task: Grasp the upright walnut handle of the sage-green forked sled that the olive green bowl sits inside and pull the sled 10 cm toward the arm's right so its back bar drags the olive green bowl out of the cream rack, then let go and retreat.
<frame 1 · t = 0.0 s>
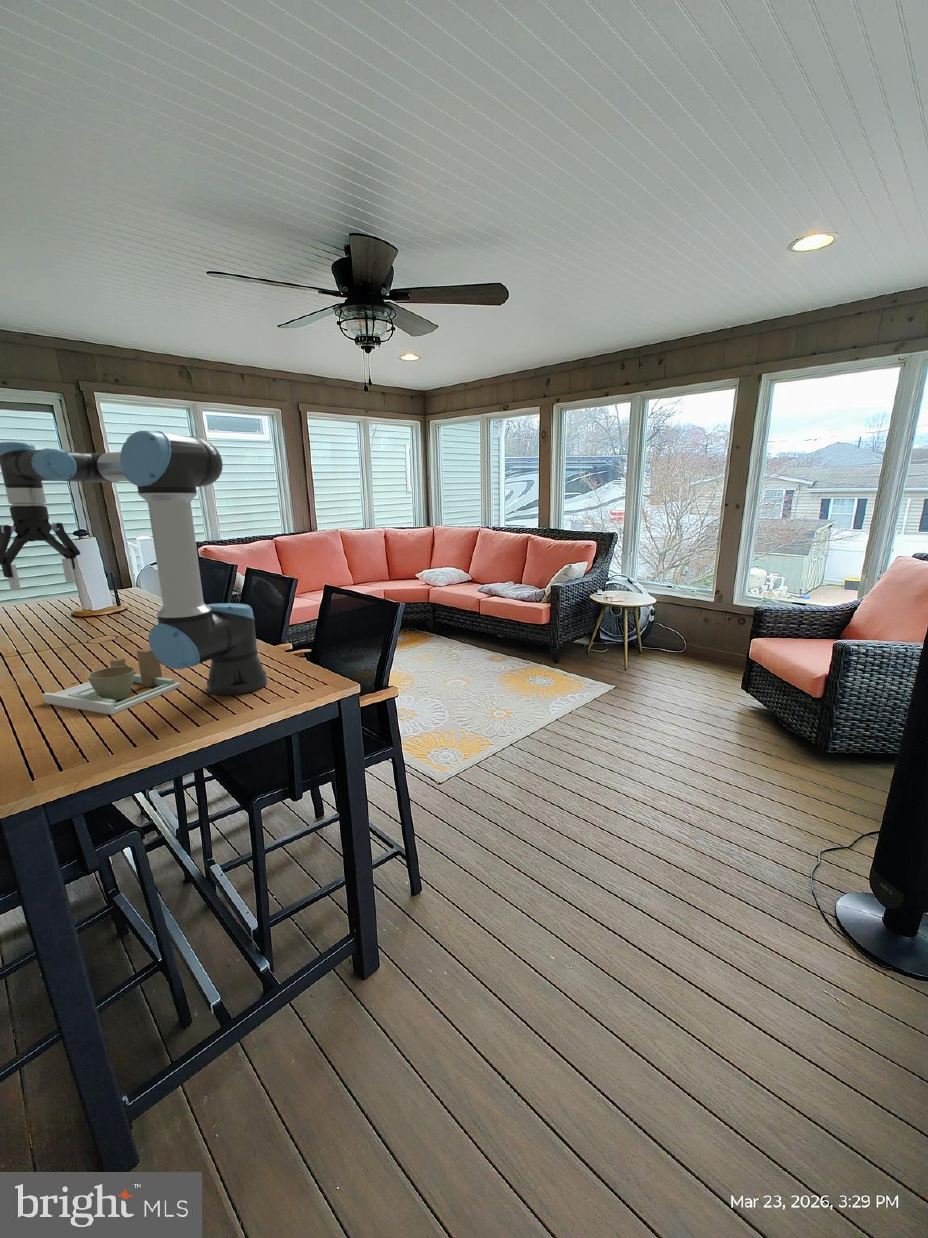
hand: (44, 585, 137), 28 cm above the table, fingers open, 13 cm apart
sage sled: (123, 676, 134), point 5 cm above the table, slide at 0.0 cm
olive green bowl: (116, 698, 132), resting in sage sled
rack: (114, 693, 135), on the table
grey strip: (90, 678, 138), point 3 cm above the table, slide at 0.0 cm
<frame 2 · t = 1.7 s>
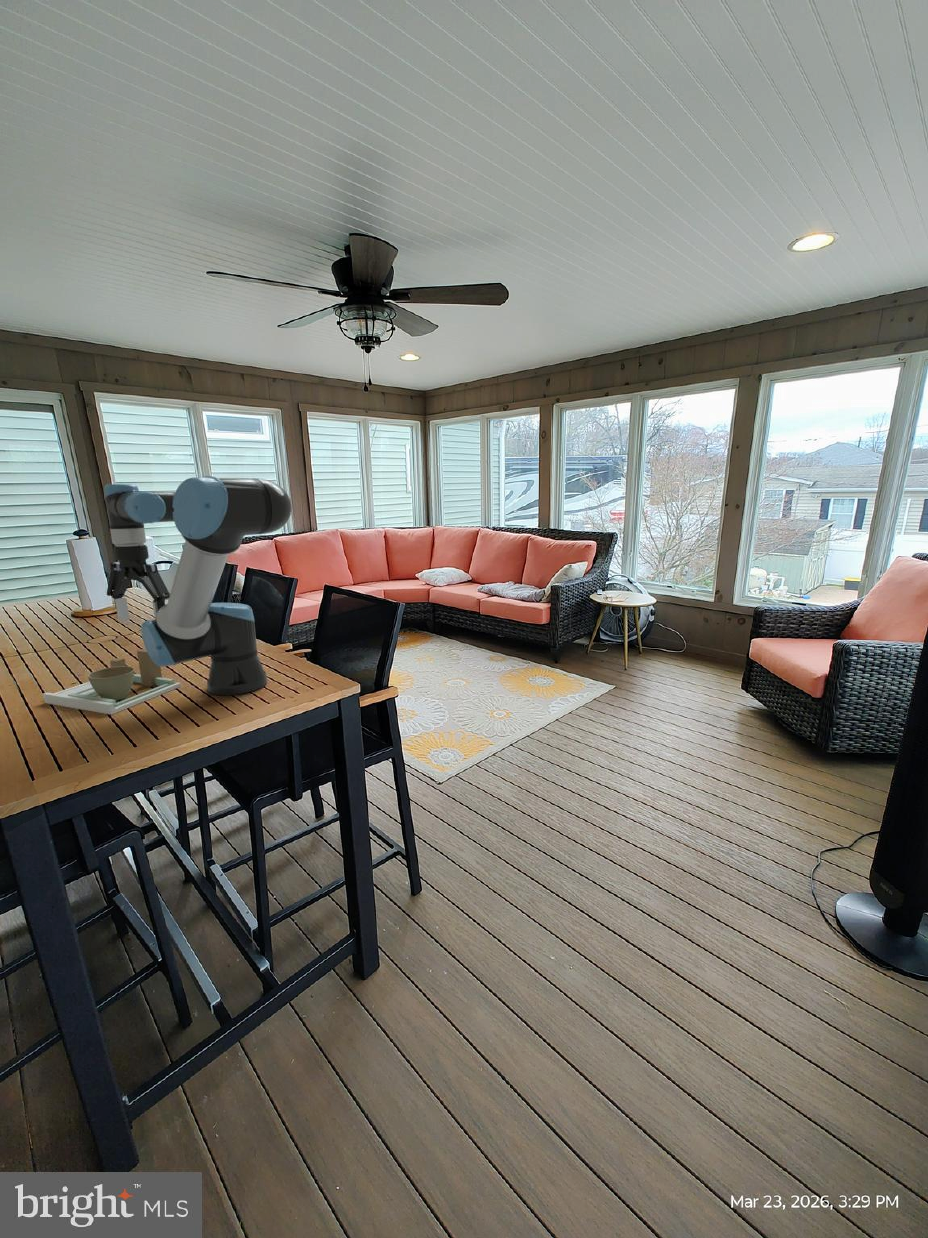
hand: (142, 623, 138), 18 cm above the table, fingers open, 13 cm apart
nothing on the table moved.
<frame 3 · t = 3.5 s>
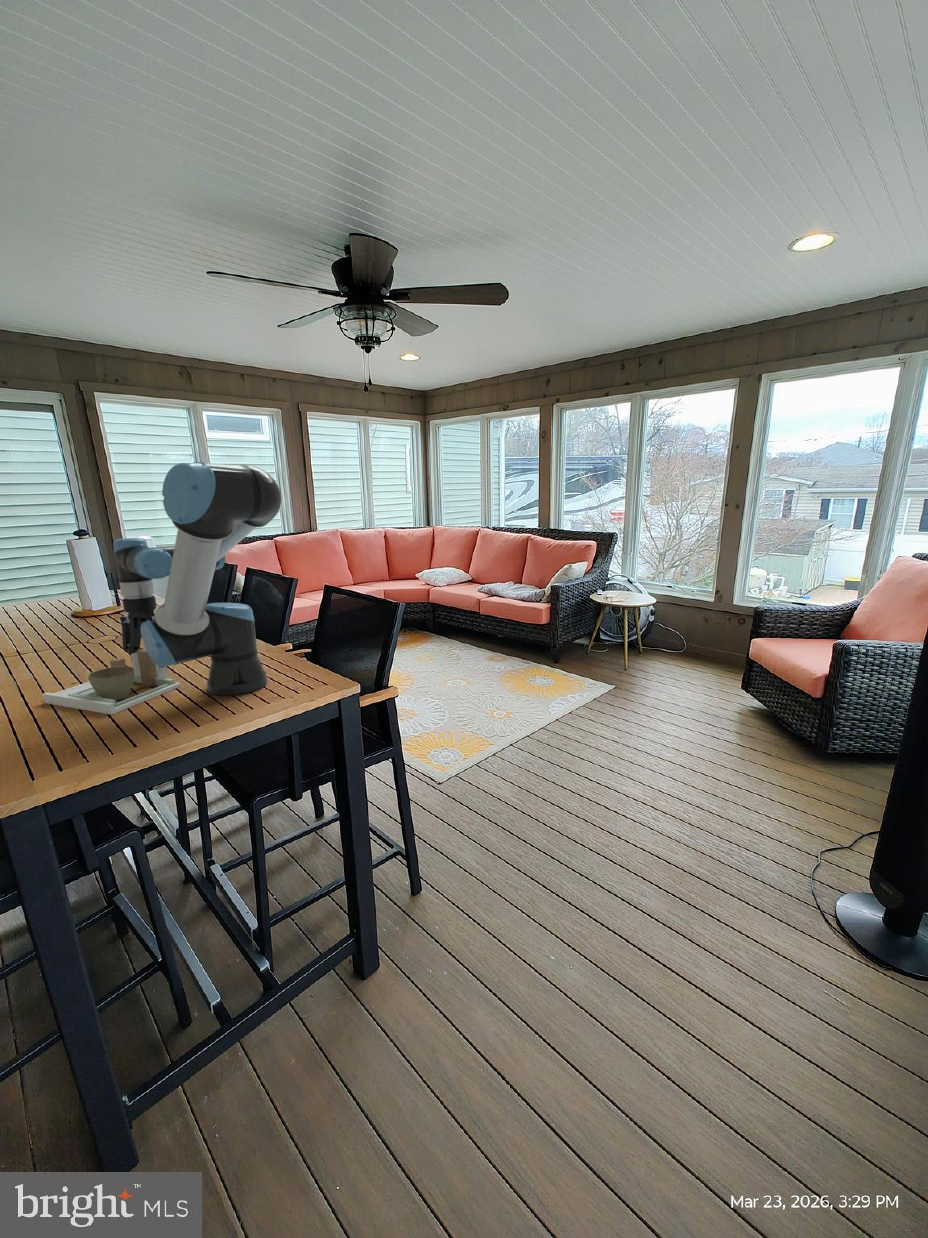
hand: (151, 676, 141), 2 cm above the table, fingers closed on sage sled, 8 cm apart
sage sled: (123, 676, 134), point 5 cm above the table, slide at 0.0 cm, touching gripper
everything else where it was.
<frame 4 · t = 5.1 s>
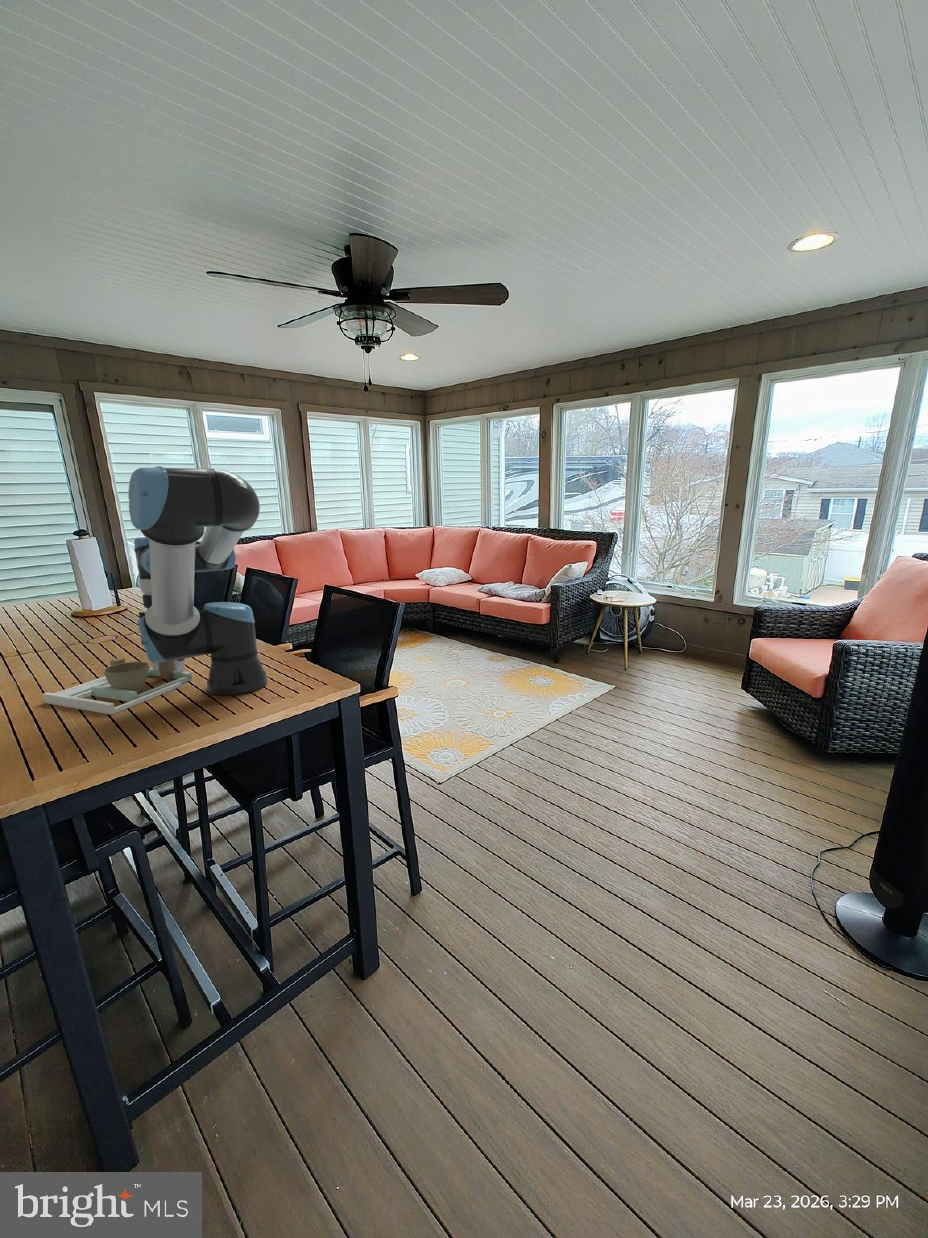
hand: (169, 669, 147), 2 cm above the table, fingers closed on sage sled, 8 cm apart
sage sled: (143, 669, 139), point 5 cm above the table, slide at 5.8 cm, touching olive green bowl, gripper
olive green bowl: (130, 693, 136), resting in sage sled
everything else where it was.
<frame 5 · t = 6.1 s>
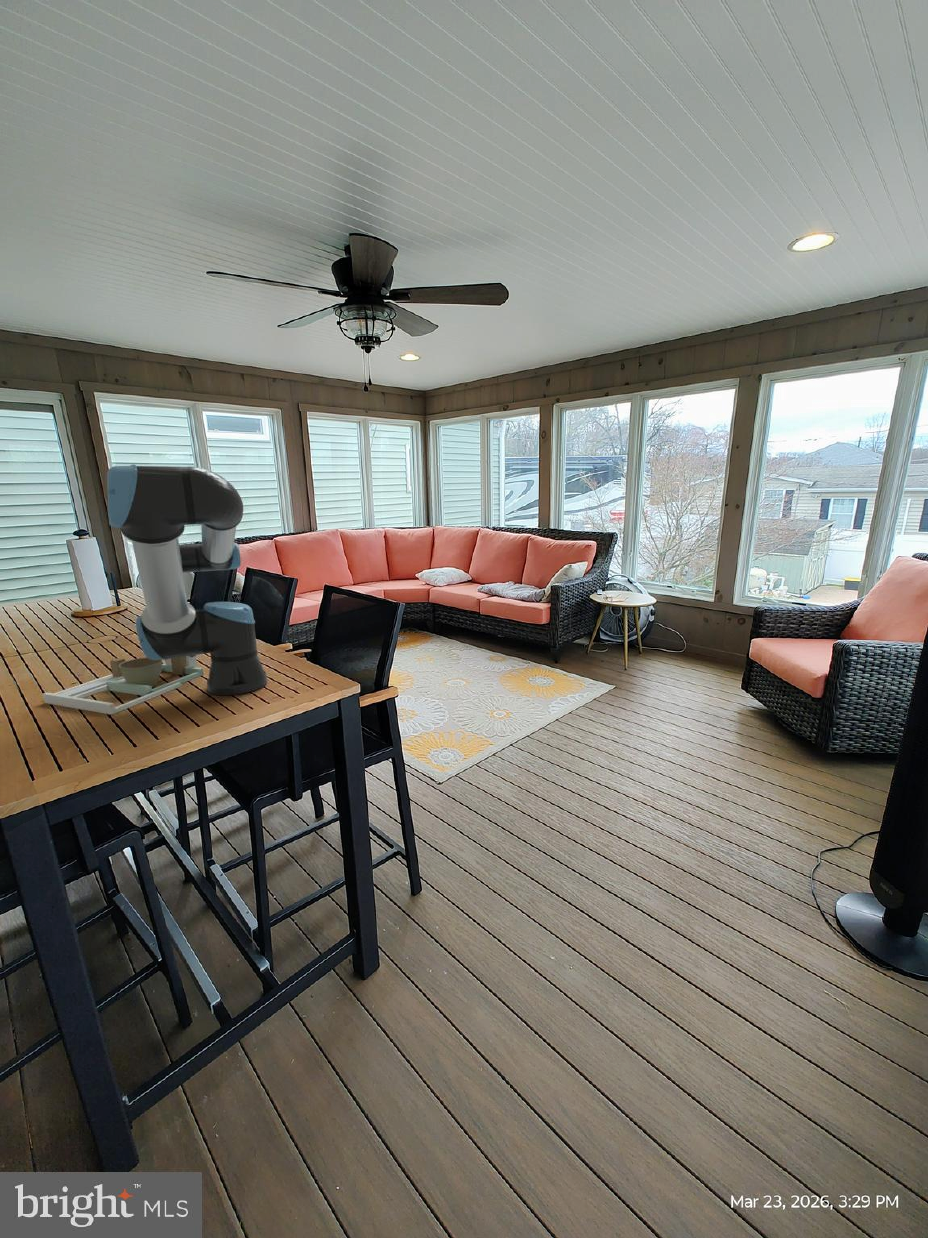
hand: (181, 665, 151), 2 cm above the table, fingers closed on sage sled, 8 cm apart
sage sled: (156, 664, 143), point 5 cm above the table, slide at 10.0 cm, touching olive green bowl, gripper
olive green bowl: (144, 687, 140), resting in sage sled
everything else where it was.
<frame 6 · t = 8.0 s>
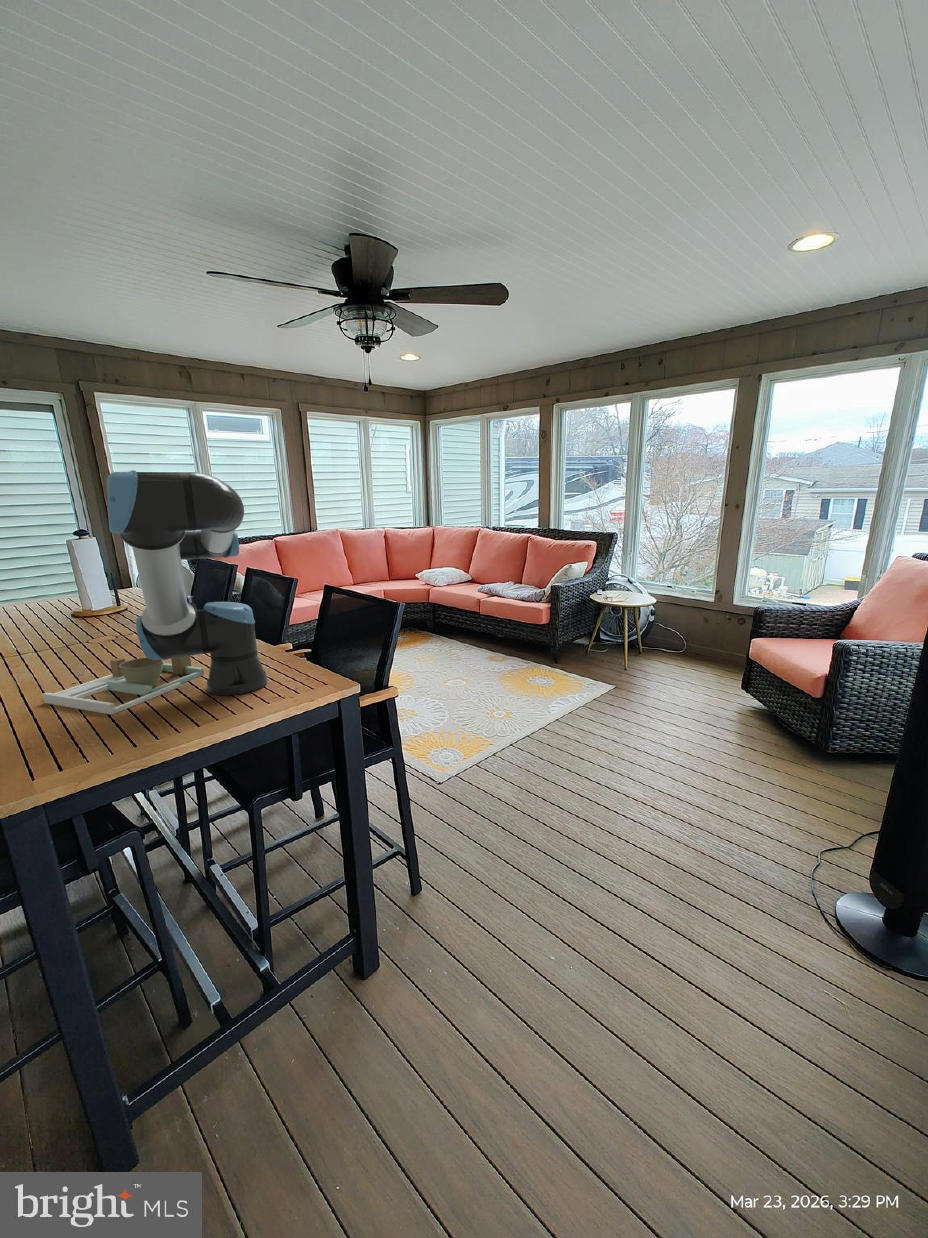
hand: (179, 650, 149), 7 cm above the table, fingers open, 13 cm apart
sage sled: (157, 664, 143), point 5 cm above the table, slide at 10.1 cm
olive green bowl: (145, 687, 140), resting in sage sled
everything else where it was.
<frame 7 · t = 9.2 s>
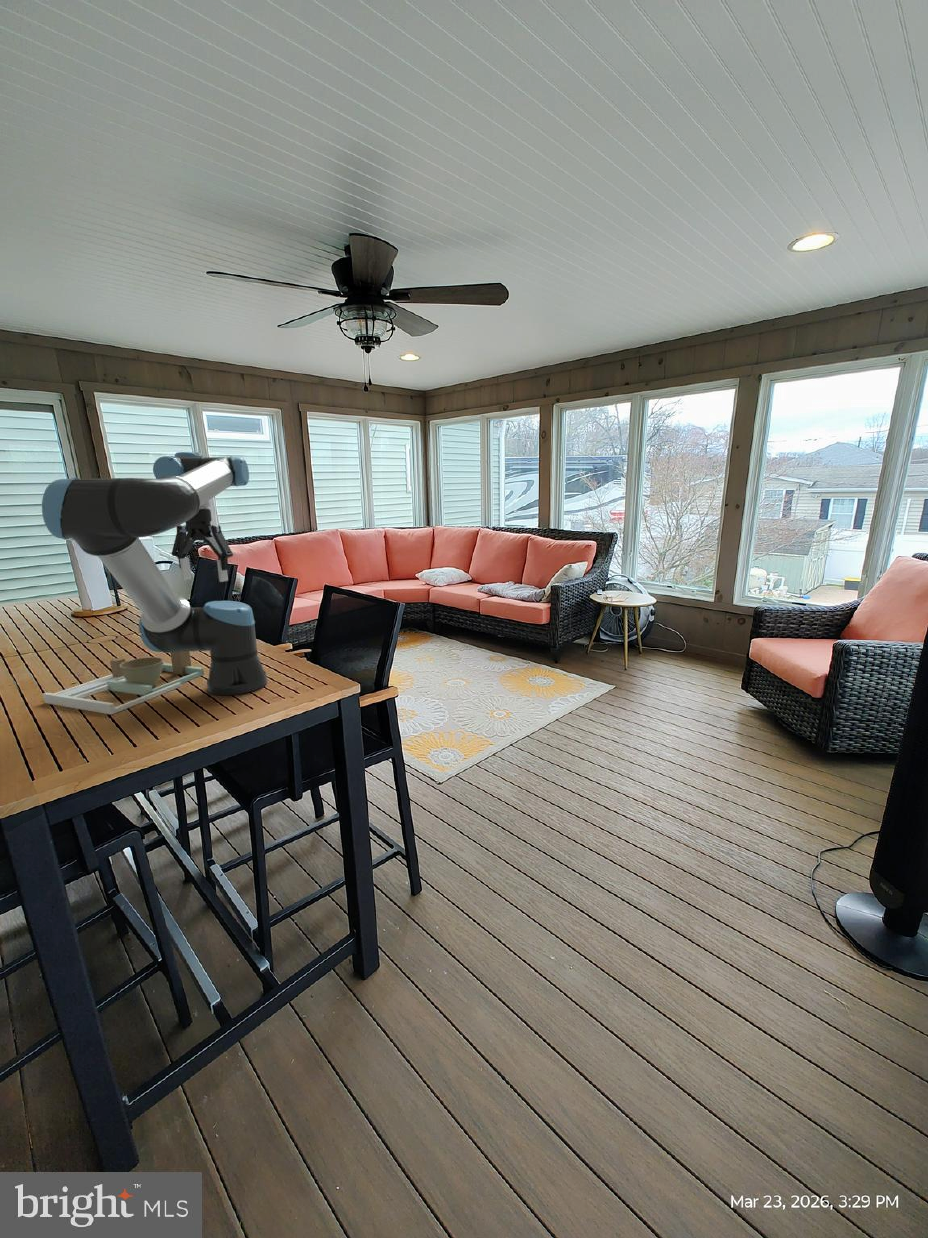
hand: (205, 580, 152), 27 cm above the table, fingers open, 13 cm apart
nothing on the table moved.
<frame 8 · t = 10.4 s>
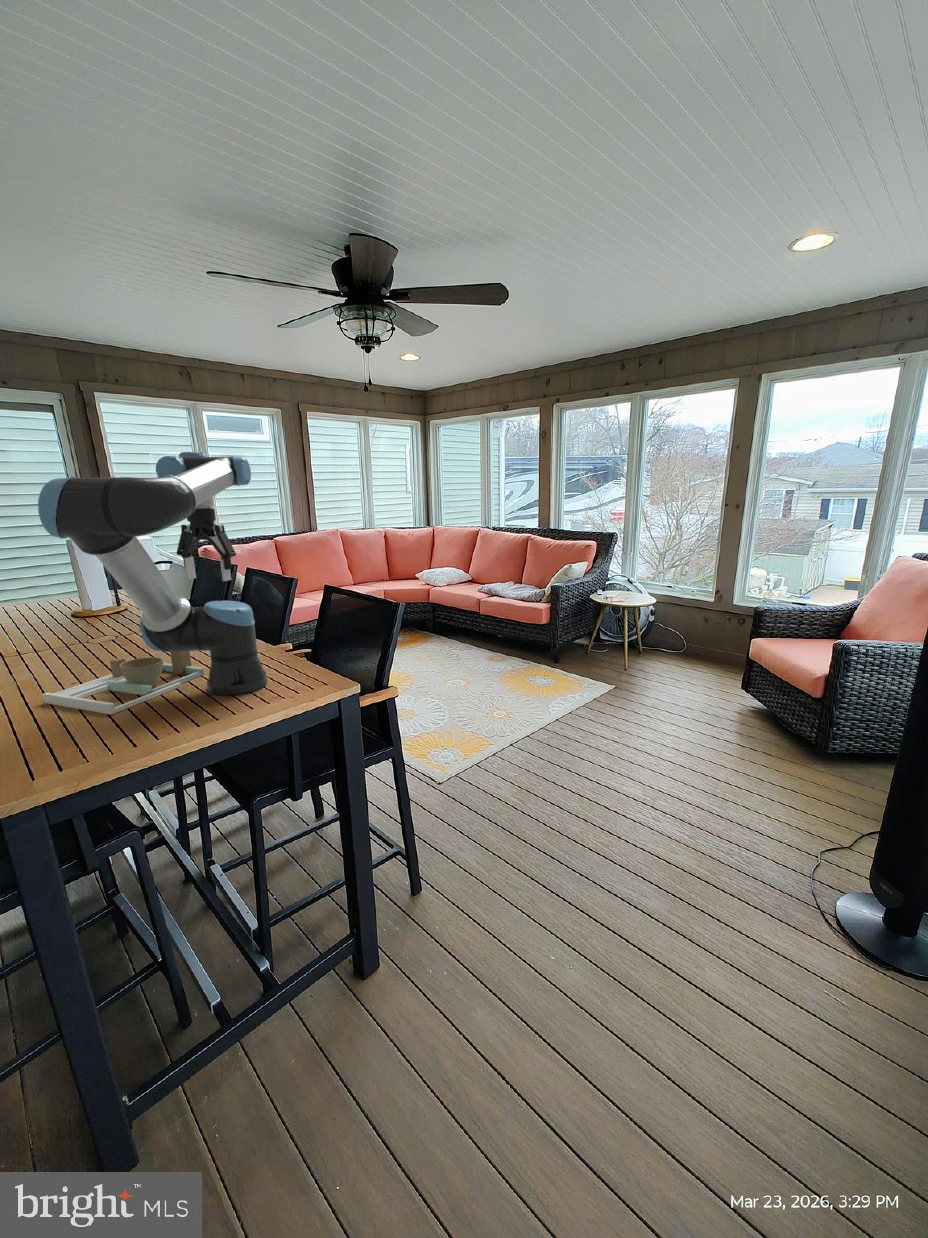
hand: (209, 579, 153), 27 cm above the table, fingers open, 13 cm apart
nothing on the table moved.
at the end: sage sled slide at 10.1 cm; olive green bowl inside the target area (1.4 cm from its centre), resting in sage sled; olive green bowl tilted 0° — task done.
